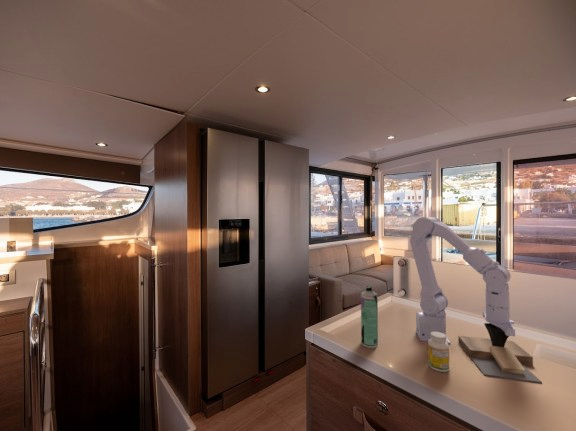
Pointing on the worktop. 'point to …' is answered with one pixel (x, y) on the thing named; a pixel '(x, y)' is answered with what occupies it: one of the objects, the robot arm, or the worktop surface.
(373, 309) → the spray can
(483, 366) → the rubber mat
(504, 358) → the birch tile
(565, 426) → the worktop surface
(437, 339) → the supplement bottle
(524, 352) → the walnut deck
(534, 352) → the worktop surface
